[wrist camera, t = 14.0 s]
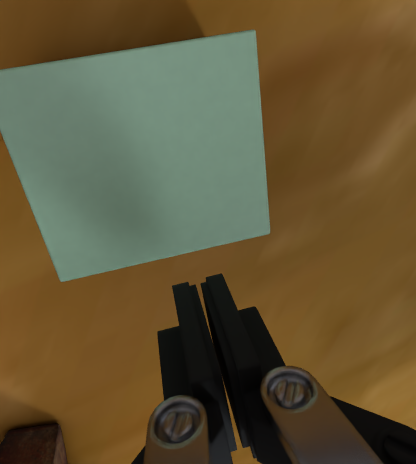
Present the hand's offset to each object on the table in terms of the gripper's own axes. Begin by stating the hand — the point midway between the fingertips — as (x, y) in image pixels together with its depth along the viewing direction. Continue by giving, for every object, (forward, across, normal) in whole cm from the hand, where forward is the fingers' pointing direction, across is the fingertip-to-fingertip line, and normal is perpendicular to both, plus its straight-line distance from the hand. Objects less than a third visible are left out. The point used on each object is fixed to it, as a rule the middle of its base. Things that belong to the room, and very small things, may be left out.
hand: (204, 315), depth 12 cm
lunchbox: (+2, +1, -5) cm, 5 cm away
